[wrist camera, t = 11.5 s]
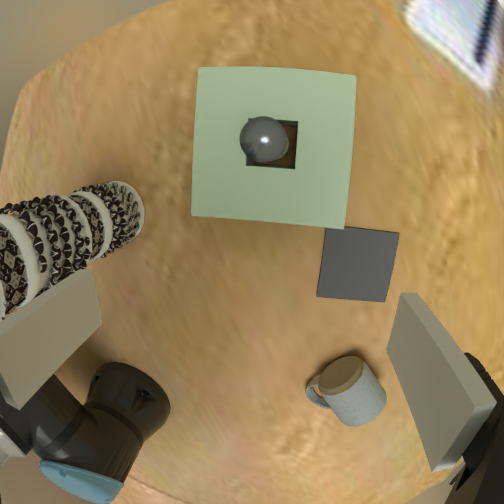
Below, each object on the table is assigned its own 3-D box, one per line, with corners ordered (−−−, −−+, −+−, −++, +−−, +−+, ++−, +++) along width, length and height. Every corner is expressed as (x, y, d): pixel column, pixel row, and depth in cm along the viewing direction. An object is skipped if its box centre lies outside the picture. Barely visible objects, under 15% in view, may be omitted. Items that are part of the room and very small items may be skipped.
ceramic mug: (358, 343, 39) (367, 379, 32) (382, 377, 41) (391, 413, 33) (294, 376, 43) (291, 414, 35) (322, 406, 44) (323, 443, 37)
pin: (260, 158, 34) (238, 160, 21) (261, 130, 33) (240, 115, 20) (288, 160, 33) (285, 164, 20) (290, 132, 32) (288, 117, 19)
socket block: (207, 205, 36) (191, 215, 31) (213, 80, 31) (198, 67, 26) (335, 216, 35) (343, 229, 29) (346, 88, 30) (356, 75, 24)
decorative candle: (97, 169, 37) (-66, 207, 13) (155, 189, 36) (-11, 252, 13) (86, 231, 40) (-55, 305, 16) (139, 255, 40) (3, 361, 16)
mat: (316, 295, 38) (316, 296, 38) (326, 224, 35) (326, 225, 35) (384, 300, 37) (384, 302, 37) (398, 232, 34) (399, 233, 34)
